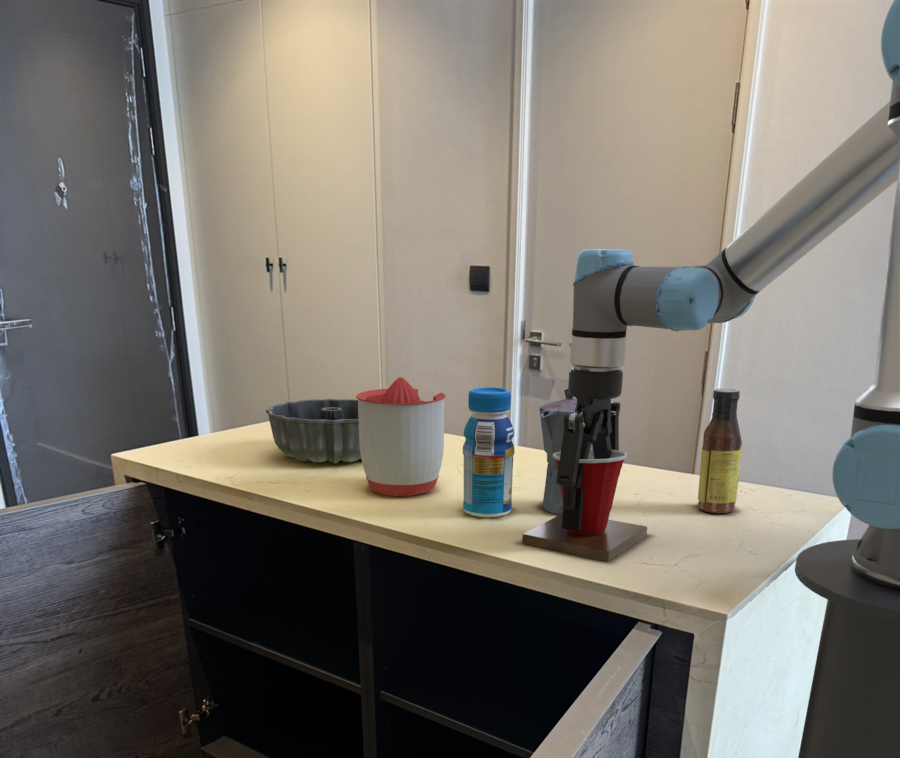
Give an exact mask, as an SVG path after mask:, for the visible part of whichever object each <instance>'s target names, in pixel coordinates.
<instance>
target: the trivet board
mask: <svg viewBox="0 0 900 758" xmlns="http://www.w3.org/2000/svg"><path fill="white" fill-rule="evenodd" d="M562 519H563V513H562V514H557V515H556V516H554V517H553V518H551V519H549V520H546V521H545V522H543V523H541V524H539V525H537V526H535V527H534V528H531V529H529V530H527V531H526V532H523V533H522V541H521V543H522V544H524V545H528V546H534V547H538V548H543V549H548V550H553V551H557V552H561V553H566V554H572V555H576V556H581V557H585V558H589V559H595V560H599V561H604V562H610V561H611V560H612V559H614V558H615V557H617V556H618V555H620V554H622V553H623V552H625V551H626V550H627V549H629V548H631V547H632V546H633V545H635V544H636V543H638V542H639V541H641V540H643V539H644V538H645V537H647V535H648V526H646V525H641V524H635V523H631V522H630V523H629V522H625V521H620V520H614V519H608V523H607V527H606V529H605V532H604V533H602V534H600V535H594V536H584V535H577V534H573V533H571V532H569V531H568V530H567V529H563V528H562Z"/></svg>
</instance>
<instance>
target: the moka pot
mask: <svg viewBox="0 0 900 758" xmlns="http://www.w3.org/2000/svg"><path fill="white" fill-rule="evenodd" d="M563 391H564V397H565V398H564V399H559V400H554V401H549V402H546V403H545V404H543V405H541V406H540V407H539V416H540V426H541V433H542V434H541V435H542V441H543V442H542V443H543V450H544V453H546V462H547V466H546V474H545V484H544V490H543V491H544V492H543V500H542V509H543V510H545V512H548V513H551V514H556V515H560V514H562V513H563V500H562V492H561V485H558V484H557V474H558V468H557V464H556V461H555V459H554V458H553V454H554V453H556V452H560V451H561V448H562V441H563V434H564V416H565V414H566V413H567V414H574V413H575V408H576V404H577V399H576V398H574V397H573V396H571V395H570V394H569V393H568V388H566V389H564V390H563ZM590 449H593V446H592V444H591V448H590Z"/></svg>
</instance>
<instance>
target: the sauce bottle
mask: <svg viewBox="0 0 900 758" xmlns="http://www.w3.org/2000/svg"><path fill="white" fill-rule="evenodd" d="M740 393H741V392H740V390H739V389H736V388H724V387H723V388H715V389H714V390H713V393H712V399H713V406H712V407H713V408H712V413H711V416H712V417H711V419H710V422H709V423H708V425H707V426H706V428H705V430H704V432H703V439H702V440H703V442H702V447H701V455H700V468H699V479H698V480H699V481H698V491H697V500H698V502H697V507H698V509H699V510H702V511H704V512H706V513H712V514H728V513H731V512H733V511H734V510H735V507H736V502H737V497H738V491H739V490H738V488H739V479H740V467H741V459H742V458H741V457H742V448H743V447H742V446H743V441H742V436H741V431H740V426H739V425H740V424H739V421H738V420H739V419H738V414H737V413H738V401H739V399H740Z"/></svg>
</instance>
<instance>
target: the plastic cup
mask: <svg viewBox="0 0 900 758" xmlns="http://www.w3.org/2000/svg"><path fill="white" fill-rule="evenodd" d="M560 454H561V451H560V452H556V453H554V454H553V458H554V459H555V461H556V464H557V468H559V461H560ZM627 456H628V453H627V452H625V451H622V450H619V451H617V450H612V451H611V455H610V458H608V459H594V453H593V449H590V452H589V455H588V459H579V464H578V465H580V464H582V463H583V479H582V482H581V486H580V487H584V492H583V507H582V521H581V531H579V532H578V531H573V530H568V529H567V530H568V531H569V532H571V533H573V534H577V535H584V536H594V535H600V534H602V533H604V532H605V529H606V527H607V523H608V520H610V518H609V517H610V513H611V511H612V508H613V504H614V499H615V494H616V491H617V486H618V481H619V477H620V475H621V471H622V467H623V464H624V462H625V460H626V458H627ZM561 492H562V500H563V503H564V486H561Z"/></svg>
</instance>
